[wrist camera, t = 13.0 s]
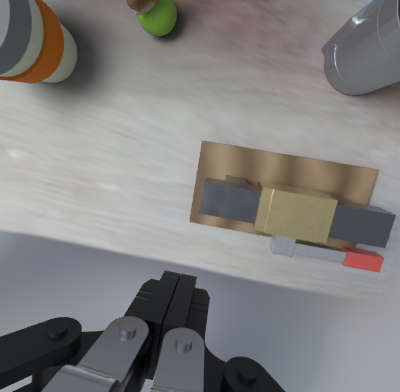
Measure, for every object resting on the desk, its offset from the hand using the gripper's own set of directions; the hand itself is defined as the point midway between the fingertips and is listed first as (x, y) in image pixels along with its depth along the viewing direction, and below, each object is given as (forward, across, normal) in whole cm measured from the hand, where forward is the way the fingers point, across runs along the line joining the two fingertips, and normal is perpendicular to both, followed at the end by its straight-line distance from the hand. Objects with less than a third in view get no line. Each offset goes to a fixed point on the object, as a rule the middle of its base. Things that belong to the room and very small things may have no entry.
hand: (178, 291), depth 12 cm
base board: (+32, -10, 0) cm, 34 cm away
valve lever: (+22, -9, +4) cm, 25 cm away
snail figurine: (+32, +12, -23) cm, 41 cm away
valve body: (+30, -10, 0) cm, 32 cm away
